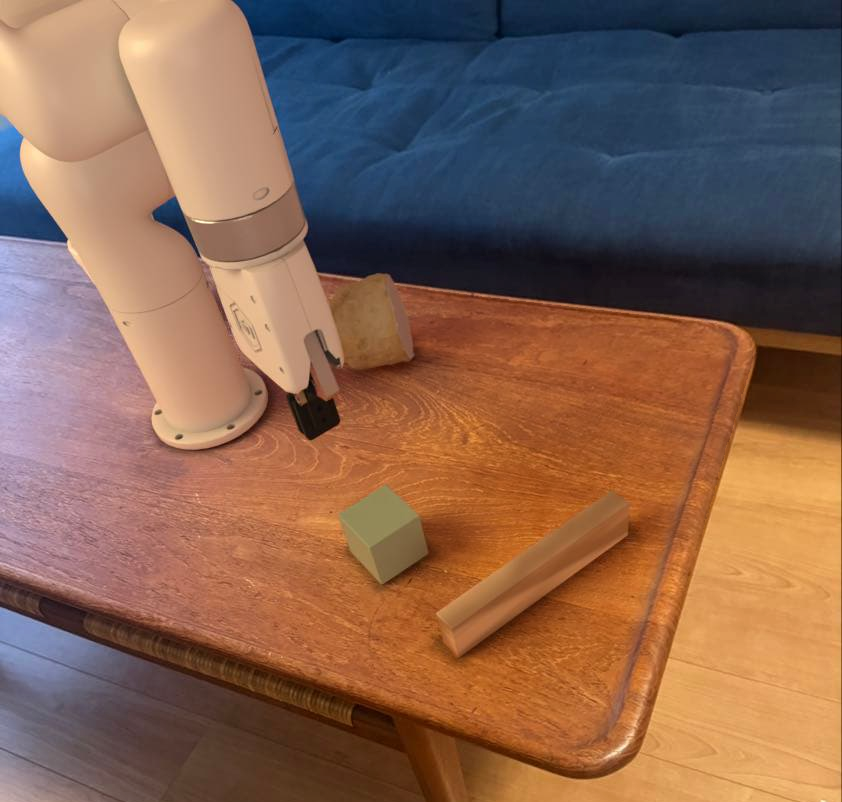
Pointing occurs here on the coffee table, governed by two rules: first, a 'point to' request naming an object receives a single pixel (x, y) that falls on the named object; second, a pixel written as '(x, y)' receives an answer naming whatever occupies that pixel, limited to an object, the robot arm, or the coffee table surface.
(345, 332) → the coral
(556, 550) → the straightedge
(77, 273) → the coffee table surface
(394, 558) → the block
